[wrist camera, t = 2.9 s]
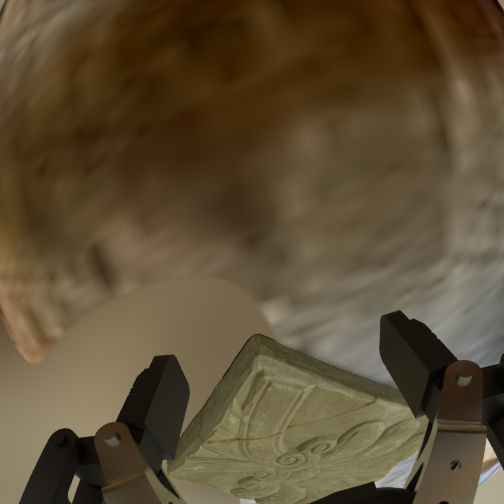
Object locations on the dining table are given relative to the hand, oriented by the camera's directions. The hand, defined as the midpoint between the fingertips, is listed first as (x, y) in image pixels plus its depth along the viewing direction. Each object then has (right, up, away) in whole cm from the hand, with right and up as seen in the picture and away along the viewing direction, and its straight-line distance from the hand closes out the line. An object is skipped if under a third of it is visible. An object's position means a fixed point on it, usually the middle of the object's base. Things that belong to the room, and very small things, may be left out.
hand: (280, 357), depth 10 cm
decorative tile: (+3, -13, +9) cm, 16 cm away
